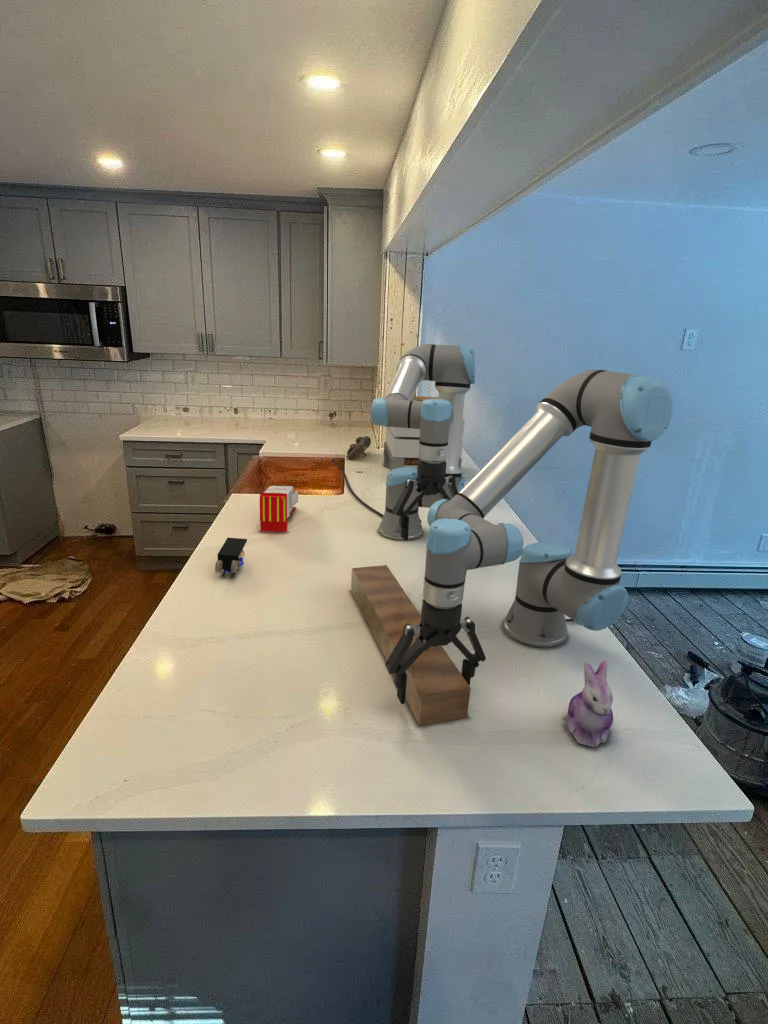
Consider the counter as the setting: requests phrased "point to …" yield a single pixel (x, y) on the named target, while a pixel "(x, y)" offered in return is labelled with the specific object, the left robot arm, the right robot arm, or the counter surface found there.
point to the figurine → (591, 708)
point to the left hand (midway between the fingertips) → (426, 535)
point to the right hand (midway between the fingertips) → (433, 694)
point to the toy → (277, 507)
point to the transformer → (406, 444)
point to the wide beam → (433, 674)
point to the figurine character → (230, 556)
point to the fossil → (358, 447)
